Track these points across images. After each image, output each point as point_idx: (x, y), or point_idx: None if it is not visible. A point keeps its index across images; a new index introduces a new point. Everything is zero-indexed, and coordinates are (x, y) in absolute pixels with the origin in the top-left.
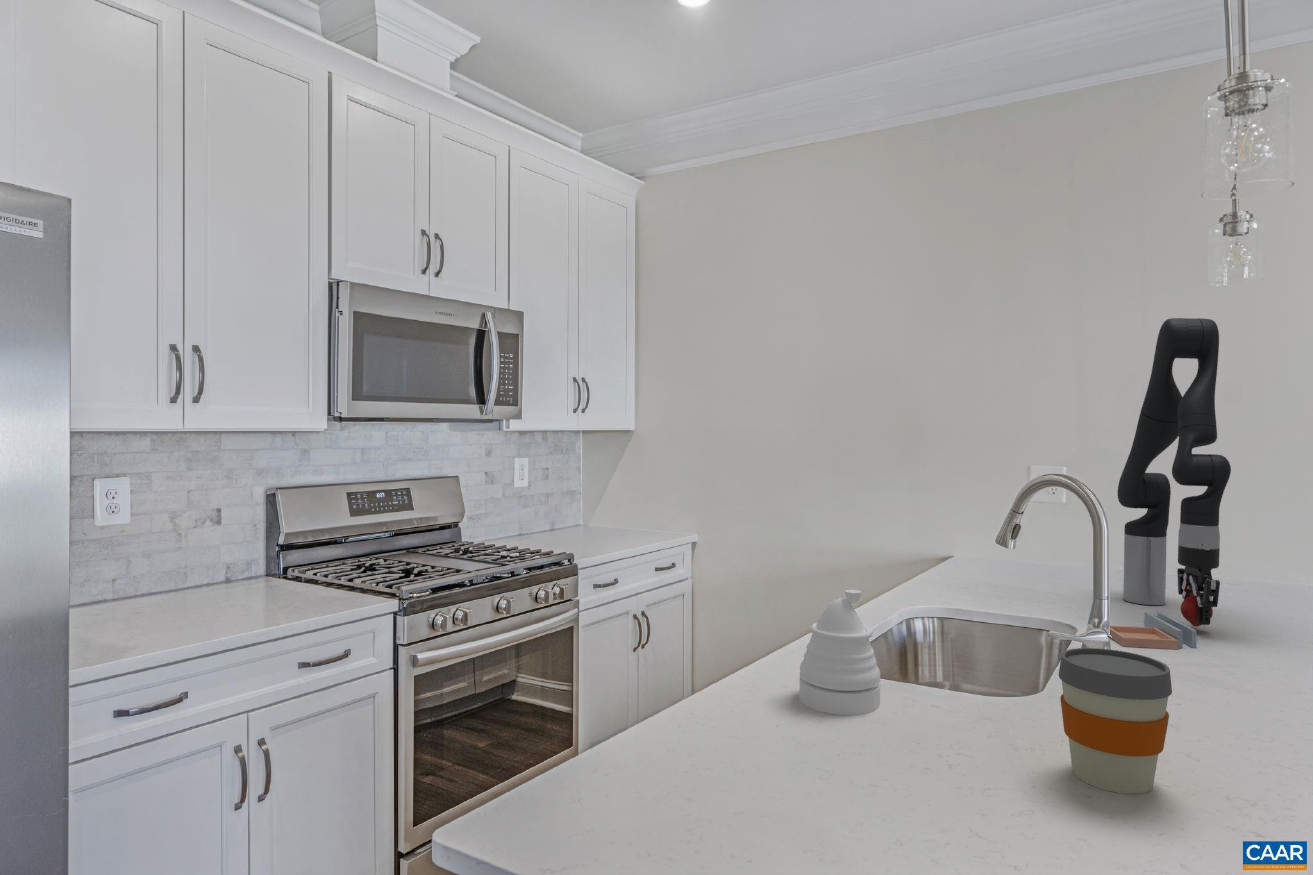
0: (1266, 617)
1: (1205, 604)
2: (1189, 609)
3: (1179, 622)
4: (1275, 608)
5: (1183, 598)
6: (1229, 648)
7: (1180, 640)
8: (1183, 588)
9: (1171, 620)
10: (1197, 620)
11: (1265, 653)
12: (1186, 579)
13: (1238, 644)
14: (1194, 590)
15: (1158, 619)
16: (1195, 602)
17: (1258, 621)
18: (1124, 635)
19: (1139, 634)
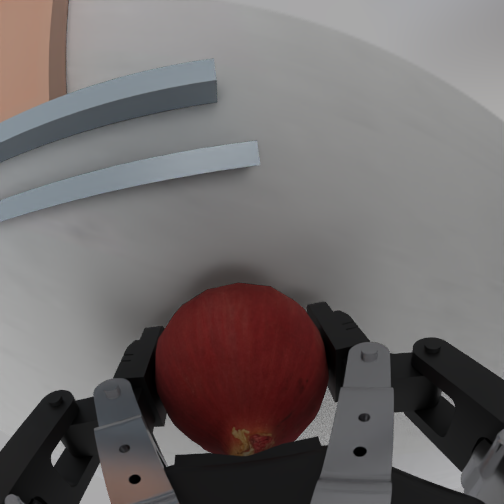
0: (443, 464)
1: (45, 402)
2: (170, 325)
3: (12, 210)
4: None
5: (358, 347)
6: (13, 336)
7: None
8: (356, 397)
9: (61, 180)
10: (158, 329)
11: (23, 403)
12: (314, 502)
13: (81, 384)
14: (132, 451)
15: (40, 110)
16: (171, 388)
17: (413, 461)
18: (14, 10)
19: (31, 50)
